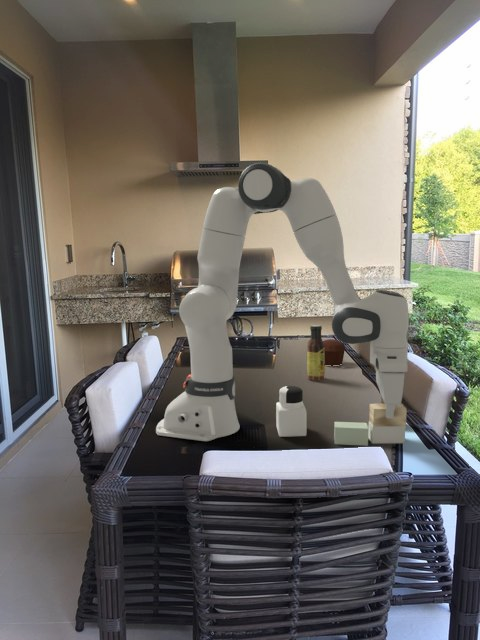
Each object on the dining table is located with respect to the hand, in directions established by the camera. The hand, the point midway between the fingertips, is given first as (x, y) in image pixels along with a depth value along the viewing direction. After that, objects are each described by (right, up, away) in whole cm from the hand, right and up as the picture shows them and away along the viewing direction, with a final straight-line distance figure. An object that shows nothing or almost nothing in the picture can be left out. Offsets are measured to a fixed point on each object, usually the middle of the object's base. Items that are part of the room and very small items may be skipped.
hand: (386, 411), depth 124 cm
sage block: (-9, -8, +1) cm, 12 cm away
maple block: (0, -3, 0) cm, 3 cm away
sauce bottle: (-9, +1, +58) cm, 58 cm away
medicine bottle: (-23, -7, +8) cm, 25 cm away
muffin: (+1, +4, +80) cm, 80 cm away
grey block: (0, -8, +1) cm, 8 cm away
